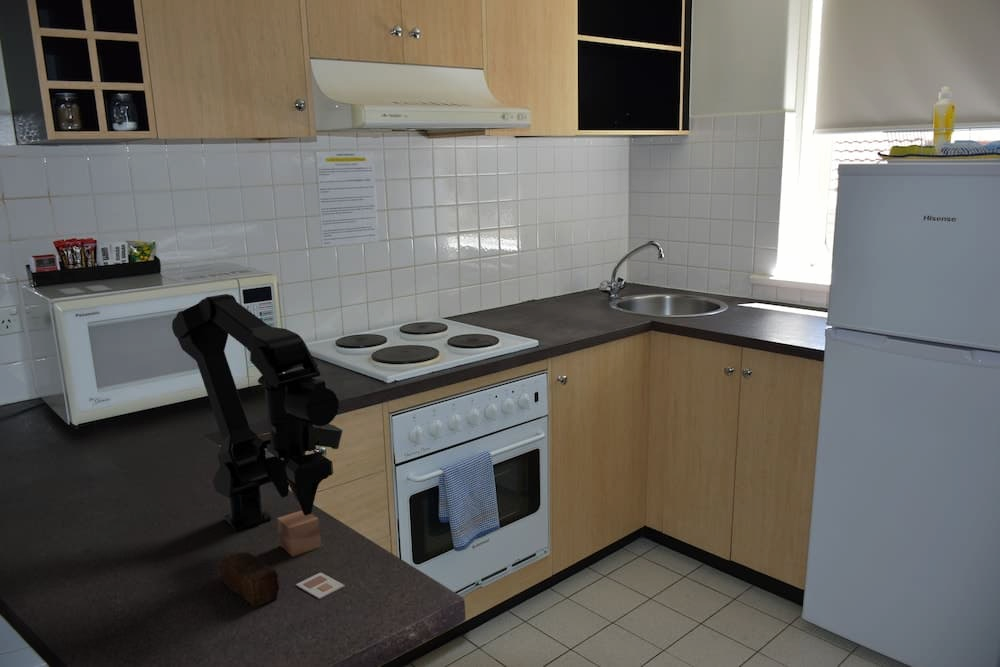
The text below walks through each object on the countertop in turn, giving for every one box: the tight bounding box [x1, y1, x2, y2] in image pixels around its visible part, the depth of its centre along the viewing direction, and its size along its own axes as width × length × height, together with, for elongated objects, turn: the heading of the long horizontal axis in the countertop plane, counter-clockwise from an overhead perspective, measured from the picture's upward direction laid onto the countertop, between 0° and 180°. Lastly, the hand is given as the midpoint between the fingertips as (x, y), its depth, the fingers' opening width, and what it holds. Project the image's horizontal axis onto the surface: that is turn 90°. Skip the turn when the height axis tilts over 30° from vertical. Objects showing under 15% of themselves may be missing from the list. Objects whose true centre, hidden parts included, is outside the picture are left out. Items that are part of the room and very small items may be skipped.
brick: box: [220, 552, 280, 609], centre depth 112 cm, size 11×4×5 cm, turn 45°
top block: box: [276, 509, 322, 557], centre depth 125 cm, size 5×5×5 cm
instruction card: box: [295, 572, 346, 600], centre depth 113 cm, size 6×4×1 cm
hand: (295, 505), depth 124 cm, fingers open, 9 cm apart
